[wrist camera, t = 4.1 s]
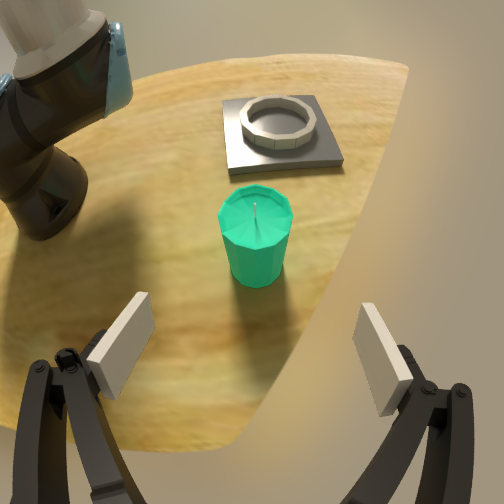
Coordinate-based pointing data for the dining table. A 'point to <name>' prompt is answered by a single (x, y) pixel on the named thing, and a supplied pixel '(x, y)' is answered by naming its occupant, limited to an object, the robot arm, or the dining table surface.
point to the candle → (255, 233)
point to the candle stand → (277, 134)
